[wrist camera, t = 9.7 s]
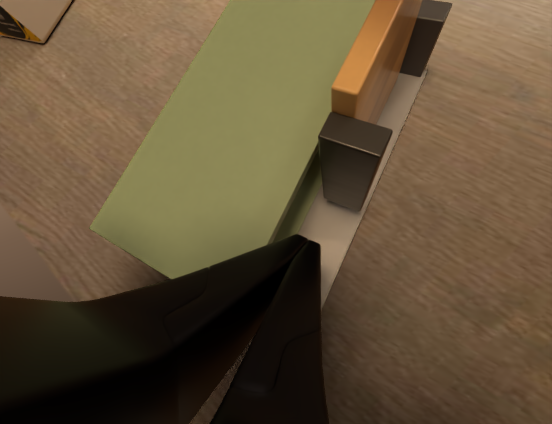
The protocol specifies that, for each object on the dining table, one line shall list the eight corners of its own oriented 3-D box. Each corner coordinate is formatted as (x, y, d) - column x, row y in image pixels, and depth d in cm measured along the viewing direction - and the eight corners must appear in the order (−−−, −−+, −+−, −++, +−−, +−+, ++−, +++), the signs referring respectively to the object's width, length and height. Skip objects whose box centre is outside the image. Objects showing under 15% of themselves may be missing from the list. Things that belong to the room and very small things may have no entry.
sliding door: (358, 217, 14) (388, 139, 6) (323, 203, 15) (314, 117, 7) (418, 82, 15) (501, -113, 8) (384, 75, 16) (431, -114, 8)
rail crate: (306, 343, 13) (291, 376, 9) (153, 252, 17) (80, 240, 12) (428, 68, 16) (469, -23, 11) (276, 36, 19) (258, -46, 14)
